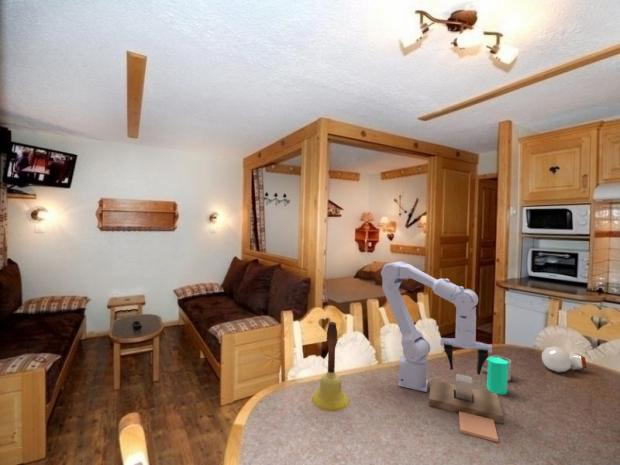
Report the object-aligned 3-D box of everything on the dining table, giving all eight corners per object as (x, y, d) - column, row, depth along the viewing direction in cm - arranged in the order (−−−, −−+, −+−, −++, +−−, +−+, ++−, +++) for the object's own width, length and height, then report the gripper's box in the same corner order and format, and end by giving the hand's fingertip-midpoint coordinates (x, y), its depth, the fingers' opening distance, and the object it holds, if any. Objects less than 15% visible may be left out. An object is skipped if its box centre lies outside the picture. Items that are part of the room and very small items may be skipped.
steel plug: (455, 404, 97) (456, 380, 97) (455, 397, 101) (456, 373, 101) (471, 408, 95) (472, 383, 95) (470, 401, 99) (471, 376, 99)
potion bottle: (540, 372, 122) (573, 376, 124) (560, 368, 114) (595, 371, 116) (531, 348, 128) (563, 352, 129) (550, 342, 120) (584, 346, 121)
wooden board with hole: (428, 405, 96) (429, 398, 96) (430, 385, 108) (431, 379, 108) (503, 423, 88) (503, 416, 88) (496, 400, 100) (496, 393, 100)
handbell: (342, 387, 106) (343, 315, 105) (355, 408, 94) (357, 327, 93) (307, 391, 103) (309, 317, 102) (316, 413, 91) (318, 330, 90)
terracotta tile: (459, 432, 84) (460, 429, 84) (458, 413, 92) (458, 411, 92) (498, 442, 80) (498, 439, 80) (493, 422, 89) (493, 419, 89)
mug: (510, 375, 117) (511, 358, 117) (510, 382, 111) (511, 364, 111) (480, 368, 122) (481, 351, 122) (479, 375, 117) (480, 357, 117)
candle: (510, 395, 103) (511, 360, 102) (490, 393, 104) (491, 358, 104) (502, 386, 109) (504, 353, 108) (484, 384, 110) (485, 351, 110)
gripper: (440, 329, 97) (440, 371, 97) (493, 335, 91) (492, 381, 91) (440, 322, 103) (440, 362, 103) (490, 328, 97) (489, 370, 98)
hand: (464, 370), depth 98 cm, fingers open, 7 cm apart
